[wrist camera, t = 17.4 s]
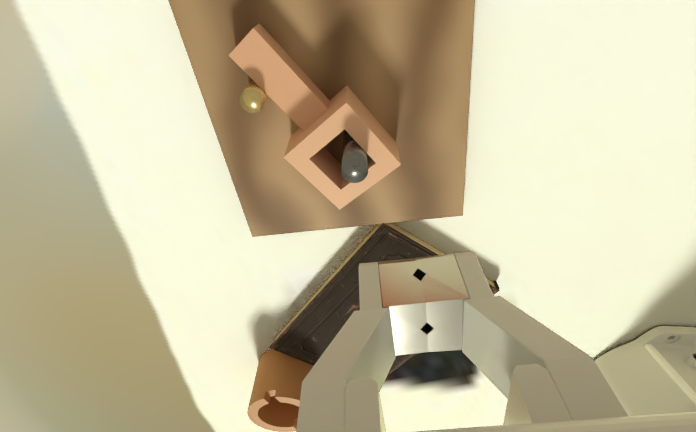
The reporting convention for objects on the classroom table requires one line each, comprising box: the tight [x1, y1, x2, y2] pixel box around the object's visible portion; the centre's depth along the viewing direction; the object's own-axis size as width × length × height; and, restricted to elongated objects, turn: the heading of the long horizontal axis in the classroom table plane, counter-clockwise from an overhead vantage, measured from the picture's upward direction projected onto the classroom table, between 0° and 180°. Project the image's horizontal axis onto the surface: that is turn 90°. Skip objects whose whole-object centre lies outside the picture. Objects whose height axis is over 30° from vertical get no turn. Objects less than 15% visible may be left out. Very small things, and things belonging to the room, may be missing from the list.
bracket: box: [248, 349, 314, 432], centre depth 50 cm, size 18×8×7 cm, turn 24°
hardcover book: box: [270, 223, 499, 375], centre depth 44 cm, size 16×23×2 cm
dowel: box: [240, 80, 269, 113], centre depth 26 cm, size 2×2×3 cm
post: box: [341, 130, 368, 183], centre depth 27 cm, size 2×2×6 cm
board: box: [169, 0, 475, 237], centre depth 30 cm, size 20×20×2 cm
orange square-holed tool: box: [229, 23, 401, 210], centre depth 27 cm, size 6×13×4 cm, turn 41°
